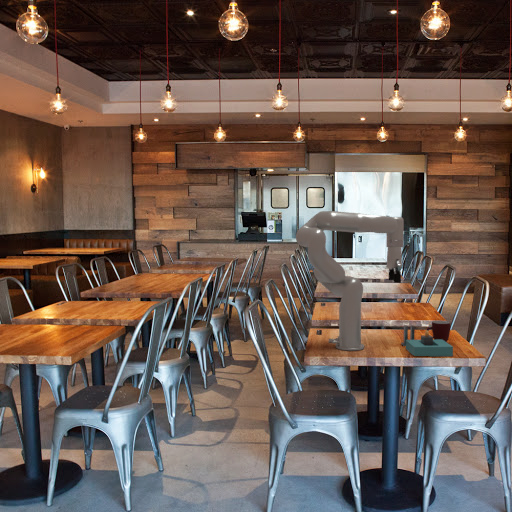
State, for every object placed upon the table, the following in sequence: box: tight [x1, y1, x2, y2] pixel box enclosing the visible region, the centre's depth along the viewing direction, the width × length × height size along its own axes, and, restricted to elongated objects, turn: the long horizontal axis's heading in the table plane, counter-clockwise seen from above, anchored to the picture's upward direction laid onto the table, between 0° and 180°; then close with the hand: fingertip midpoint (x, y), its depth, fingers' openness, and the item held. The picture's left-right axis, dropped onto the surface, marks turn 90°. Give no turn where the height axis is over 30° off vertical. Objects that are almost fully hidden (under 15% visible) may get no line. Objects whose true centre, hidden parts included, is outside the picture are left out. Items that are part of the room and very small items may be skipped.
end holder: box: [405, 339, 454, 357], centre depth 248 cm, size 16×14×4 cm
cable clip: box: [400, 324, 415, 347], centre depth 260 cm, size 6×4×9 cm, turn 90°
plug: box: [420, 329, 434, 346], centre depth 247 cm, size 4×4×9 cm
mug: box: [426, 320, 452, 343], centre depth 263 cm, size 10×8×10 cm
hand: (394, 281), depth 266 cm, fingers open, 9 cm apart
